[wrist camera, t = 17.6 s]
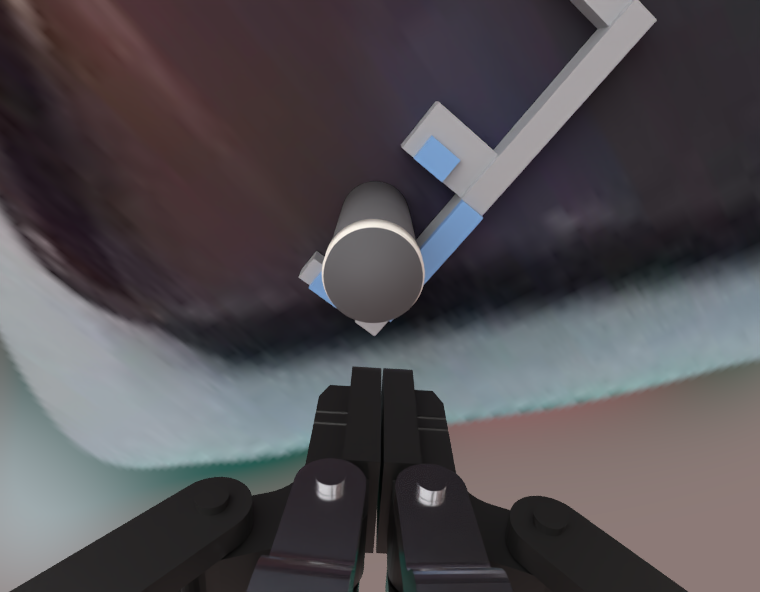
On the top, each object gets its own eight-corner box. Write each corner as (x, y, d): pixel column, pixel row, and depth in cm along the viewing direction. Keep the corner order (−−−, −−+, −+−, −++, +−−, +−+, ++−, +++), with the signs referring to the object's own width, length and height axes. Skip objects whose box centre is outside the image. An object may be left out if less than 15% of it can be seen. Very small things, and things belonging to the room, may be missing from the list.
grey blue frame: (561, -58, 27) (579, -71, 24) (638, 24, 28) (661, 18, 26) (302, 269, 33) (296, 283, 31) (374, 322, 34) (374, 339, 32)
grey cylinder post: (369, 164, 31) (364, 204, 20) (425, 210, 32) (447, 270, 21) (325, 220, 32) (300, 284, 22) (380, 262, 33) (380, 343, 23)
